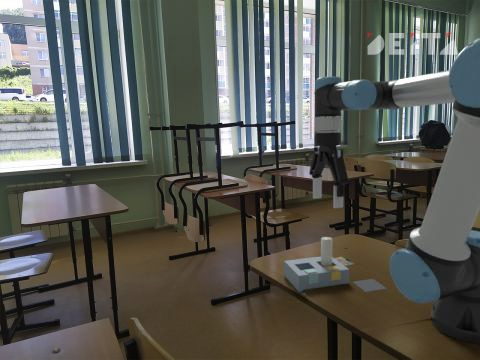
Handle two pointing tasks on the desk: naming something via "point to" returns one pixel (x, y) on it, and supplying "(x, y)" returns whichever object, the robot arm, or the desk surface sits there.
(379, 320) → the desk surface
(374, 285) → the mat
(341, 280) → the socket block
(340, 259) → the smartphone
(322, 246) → the plug
